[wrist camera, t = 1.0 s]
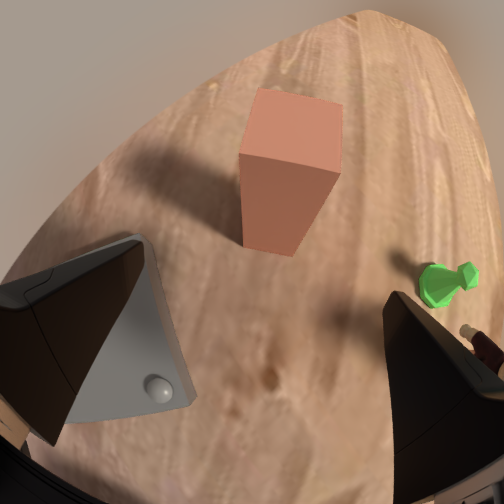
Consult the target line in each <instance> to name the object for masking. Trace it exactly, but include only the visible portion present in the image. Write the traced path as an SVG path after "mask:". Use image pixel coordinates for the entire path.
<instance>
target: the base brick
mask: <svg viewBox="0 0 504 504" xmlns="http://www.w3.org/2000/svg"><path fill="white" fill-rule="evenodd" d="M132 239H134V240H139V241H142V242H143V244H144V257H145V264H144V268H143V270H142V272H141V274H140V276H139V278H138V280H137V283H136V285H135V287H134V289H133V291H132V293H131V296H130V298H129V300H128V302H127V303H126V305H125V307H124V308H123V310H122V312H121V314H120V315H119V317H118V319H117V321H116V322H115V324H114V326H113V328H112V329H111V331H110V333H109V335H108V336H107V338H106V340H105V342H104V344H103V346H102V347H101V349H100V351H99V353H98V355H97V357H96V359H95V361H94V363H93V364H92V366H91V368H90V370H89V372H88V374H87V376H86V378H85V380H84V382H83V384H82V386H81V388H80V390H79V392H78V395H77V397H76V399H75V401H74V403H73V406H72V408H71V410H70V412H69V414H68V416H67V419H66V421H65V423H64V424H71V423H85V422H96V421H106V420H114V419H121V418H128V417H135V416H141V415H147V414H153V413H158V412H163V411H168V410H173V409H178V408H182V407H187V406H190V405H191V404H192V402H193V401H194V400H195V399H196V397H197V394H196V391H195V388H194V386H193V383H192V380H191V377H190V375H189V372H188V369H187V366H186V363H185V360H184V357H183V354H182V351H181V348H180V345H179V342H178V339H177V336H176V333H175V329H174V326H173V323H172V319H171V316H170V313H169V309H168V306H167V302H166V299H165V295H164V291H163V288H162V284H161V280H160V276H159V272H158V268H157V264H156V260H155V256H154V252H153V247H152V244H151V243H150V242H149V241H148V240H147V239H146V238H145V237H144V236H142V235H141V234H140V233H138V234H135V235H132V236H129V237H127V238H124V239H121V240H119V241H116V242H113V243H111V244H108V245H105V246H103V247H100V248H98V249H95V250H93V251H90V252H87V253H85V254H82V255H80V256H77V257H75V258H73V259H70V260H68V261H71V260H74V259H76V258H79V257H82V256H85V255H88V254H90V253H93V252H96V251H99V250H102V249H105V248H108V247H111V246H114V245H117V244H120V243H123V242H126V241H129V240H132ZM68 261H65V262H63V263H66V262H68ZM63 263H60V264H63ZM60 264H58V265H60ZM56 266H57V265H56ZM53 267H54V268H55V266H53ZM51 268H52V267H51ZM46 270H47V269H46Z"/></svg>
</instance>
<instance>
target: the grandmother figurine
mask: <svg viewBox="0 0 504 504" xmlns="http://www.w3.org/2000/svg"><path fill="white" fill-rule="evenodd" d="M460 335H461V336H462V337H463V338H466V339H467V340H468V341H469V342H470V343H471V344H472V345H473V348H474V350H469V351H470V352H471V353H472V354H474V355H475V356H476V357H477V358H478V359H479V360H480V361H481V362H482V363H483V364H485V365H486V366H487V367H488V368H489V369H490V370H491V371H493V372H494V373H495V374H496V375H497V376H498V377H499V378H500V379H502V380H503V381H504V352H503V351H502V350H501V349H500V348H499V347H498V346H497V345H496V344H495V343H494V342H493V341H492V340H491V339H490V338H488V337H487V336H486V335H485V334H484V333H483V332H482V331H478V330H476V329H475V328H471V327H470V326H469V325H468V324H465V325H463V326H462V327H461V328H460Z"/></svg>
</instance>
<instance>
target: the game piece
mask: <svg viewBox="0 0 504 504" xmlns="http://www.w3.org/2000/svg"><path fill="white" fill-rule="evenodd" d="M478 275H479V270H478V269H477V268H476V267H475V266H474V265H473V264H472V263H471V262H470V261H469V262H467V263H465V264H463V265H460V266H458V270H457V272H454V271H451V270H448V269H447V268H446V267H445V266H444V265H443V264H436V265H429V266H427V267H426V268H425V270H424V271H423V273H422V275H421V276H420V278H419V288H420V298H421V299H422V300H423V301H424V302H425V303H426V304H427V305H428V306H429V307H430V308H431V309H432V308H439V307H444V306H448V305H449V303H450V301H451V299H452V297H453V295H454V294H455V293H456V292H457V291H458V289H459V288H460V287H462V288H463V289H464V290H465V291H467V290H469V289H472V288H474V287H477V285H478Z"/></svg>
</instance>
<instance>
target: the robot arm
mask: <svg viewBox="0 0 504 504" xmlns="http://www.w3.org/2000/svg"><path fill="white" fill-rule="evenodd" d="M144 264H145V257H144V244H143V242H142V241H139V240H134V239H132V240H129V241H126V242H123V243H120V244H117V245H114V246H111V247H108V248H105V249H102V250H99V251H96V252H93V253H90V254H88V255H85V256H82V257H79V258H76V259H74V260H71V261H68V262H66V263H63V264H60V265H57V266H55V268H54V267H52V268H49V269H47V270H44V271H41V272H39V273H36V274H33V275H30V276H27V277H24V278H21V279H18V280H15V281H12V282H9V283H6V284H3V285H0V504H109V503H106V502H104V501H102V500H100V499H98V498H96V497H94V496H92V495H90V494H88V493H86V492H84V491H82V490H80V489H78V488H77V487H75V486H73V485H71V484H70V483H68V482H66V481H64V480H63V479H61V478H59V477H58V476H56V475H55V474H53V473H51V472H50V471H48V470H47V469H45V468H44V467H42V466H41V465H39V464H38V463H37V462H35V461H34V460H32V459H31V456H30V452H29V448H28V445H27V441H26V438H27V436H28V434H29V432H31V433H33V434H34V435H36V436H37V437H39V438H40V439H42V440H43V441H45V442H46V443H48V444H49V445H51V446H53V447H54V446H55V444H56V442H57V440H58V437H59V435H60V433H61V430H62V428H63V426H64V423H65V421H66V419H67V416H68V414H69V412H70V410H71V408H72V406H73V403H74V401H75V399H76V397H77V395H78V392H79V390H80V388H81V386H82V384H83V382H84V380H85V378H86V376H87V374H88V372H89V370H90V368H91V366H92V364H93V363H94V361H95V359H96V357H97V355H98V353H99V351H100V349H101V347H102V346H103V344H104V342H105V340H106V338H107V336H108V335H109V333H110V331H111V329H112V328H113V326H114V324H115V322H116V321H117V319H118V317H119V315H120V314H121V312H122V310H123V308H124V307H125V305H126V303H127V302H128V300H129V298H130V296H131V293H132V291H133V289H134V287H135V285H136V283H137V280H138V278H139V276H140V274H141V272H142V270H143V268H144ZM382 315H383V330H384V347H385V356H386V363H387V371H388V379H389V387H390V397H391V408H392V422H393V440H394V494H393V504H423V503H426V502H430V501H433V500H434V504H504V381H503V380H502V379H500V378H499V377H498V376H497V375H496V374H495V373H494V372H493V371H491V370H490V369H489V368H488V367H487V366H486V365H485V364H483V363H482V362H481V361H480V360H479V359H478V358H477V357H476V356H475V355H474V354H472V353H471V352H470V351H469V350H468V349H467V348H466V347H465V346H463V344H462V343H461V342H460V341H459V340H457V339H456V338H455V337H454V336H453V335H452V334H451V333H450V332H449V331H448V330H446V329H445V328H444V327H443V326H442V325H441V324H440V323H439V322H438V321H436V320H435V319H434V318H433V317H432V316H431V315H430V314H428V313H427V312H426V311H425V310H424V309H423V308H421V307H420V306H419V305H418V304H417V303H416V302H414V301H413V300H412V299H411V298H410V297H409V296H407V295H406V294H405V293H404V292H400V291H393V292H392V293H391V294H390V296H389V298H388V300H387V302H386V304H385V306H384V308H383V313H382Z"/></svg>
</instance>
